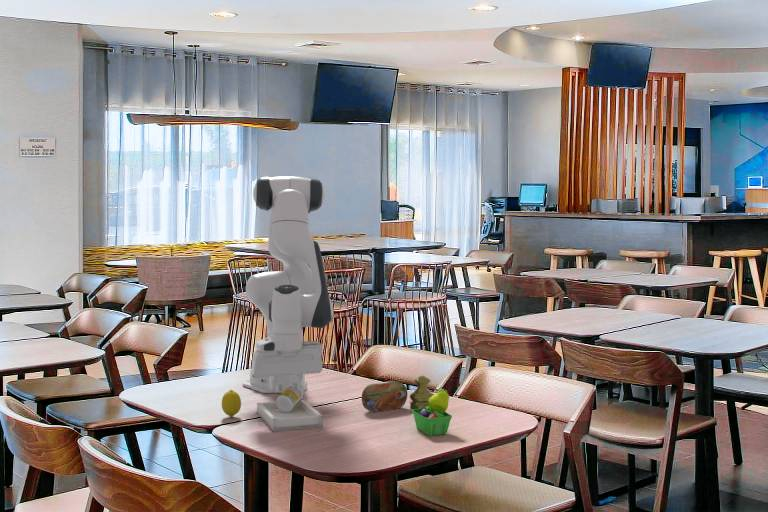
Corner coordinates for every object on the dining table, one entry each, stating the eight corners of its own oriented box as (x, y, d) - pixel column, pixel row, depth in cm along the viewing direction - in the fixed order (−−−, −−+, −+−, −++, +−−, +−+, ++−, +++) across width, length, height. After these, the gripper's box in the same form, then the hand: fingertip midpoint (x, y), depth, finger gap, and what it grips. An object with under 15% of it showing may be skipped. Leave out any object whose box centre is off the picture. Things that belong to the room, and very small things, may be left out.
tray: (257, 412, 270) (257, 402, 269) (303, 409, 274) (303, 399, 274) (273, 431, 249) (273, 420, 249) (323, 426, 253) (323, 416, 253)
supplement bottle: (275, 411, 266) (290, 395, 275) (292, 414, 265) (306, 399, 273) (275, 394, 264) (290, 379, 273) (291, 398, 263) (306, 383, 271)
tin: (365, 414, 268) (365, 385, 268) (359, 412, 271) (359, 384, 270) (408, 407, 276) (408, 380, 276) (402, 405, 279) (402, 378, 278)
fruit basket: (410, 427, 253) (410, 387, 252) (439, 424, 256) (439, 384, 256) (426, 437, 243) (427, 395, 242) (457, 434, 246) (457, 392, 245)
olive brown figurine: (405, 407, 276) (405, 375, 275) (428, 405, 279) (428, 373, 278) (416, 413, 269) (416, 379, 269) (438, 410, 272) (439, 377, 271)
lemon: (233, 413, 269) (233, 386, 268) (245, 417, 265) (244, 389, 264) (217, 417, 265) (217, 389, 264) (229, 420, 261) (228, 392, 260)
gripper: (319, 338, 268) (319, 385, 269) (250, 342, 262) (250, 390, 263) (325, 342, 262) (325, 389, 263) (254, 346, 256) (254, 395, 257)
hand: (287, 390), depth 263 cm, fingers open, 3 cm apart
